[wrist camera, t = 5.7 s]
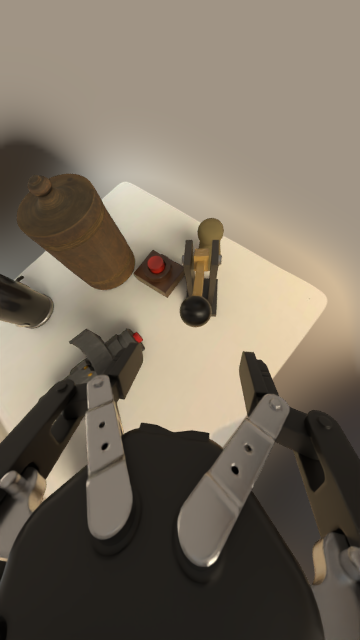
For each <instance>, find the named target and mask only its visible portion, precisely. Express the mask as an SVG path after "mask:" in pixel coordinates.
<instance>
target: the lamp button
mask: <svg viewBox="0 0 360 640" xmlns="http://www.w3.org/2000/svg"><path fill="white" fill-rule="evenodd" d="M148 267H149V269H150V271H151V272H152V273H155V274H158V273H161V272H162V271H163V270H164V268H165V265H164V262H163V259H162V258H161V257H160V256H153V257H151V258H150V259H149V260H148Z"/></svg>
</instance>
